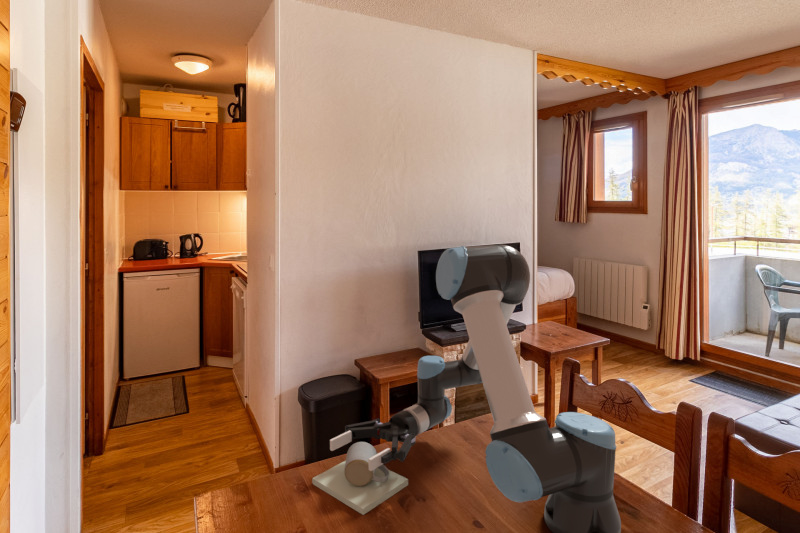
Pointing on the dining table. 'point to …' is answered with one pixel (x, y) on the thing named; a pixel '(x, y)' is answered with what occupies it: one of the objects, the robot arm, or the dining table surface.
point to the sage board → (359, 488)
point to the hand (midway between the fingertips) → (349, 454)
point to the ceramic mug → (362, 465)
